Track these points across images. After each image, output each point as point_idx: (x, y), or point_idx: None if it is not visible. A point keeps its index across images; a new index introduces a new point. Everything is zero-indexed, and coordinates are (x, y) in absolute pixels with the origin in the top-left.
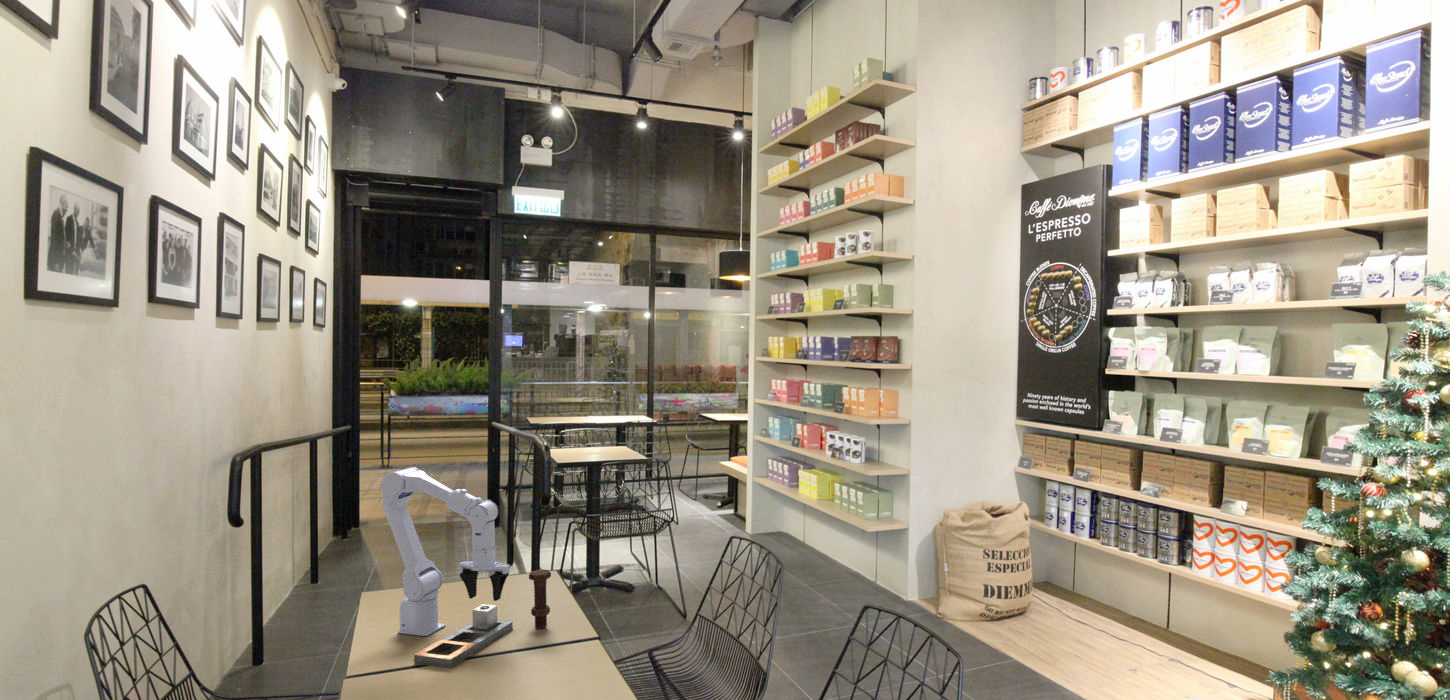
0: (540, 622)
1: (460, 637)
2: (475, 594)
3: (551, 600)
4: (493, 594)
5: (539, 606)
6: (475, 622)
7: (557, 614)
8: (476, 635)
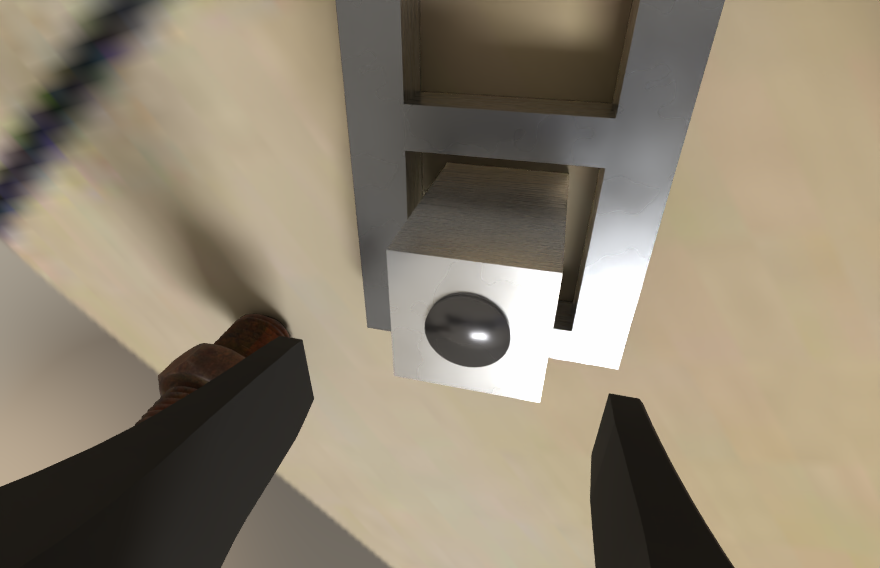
0: (230, 331)
1: (622, 64)
2: (593, 467)
3: (425, 562)
4: (248, 378)
5: (169, 393)
6: (536, 214)
7: (305, 451)
8: (485, 106)
